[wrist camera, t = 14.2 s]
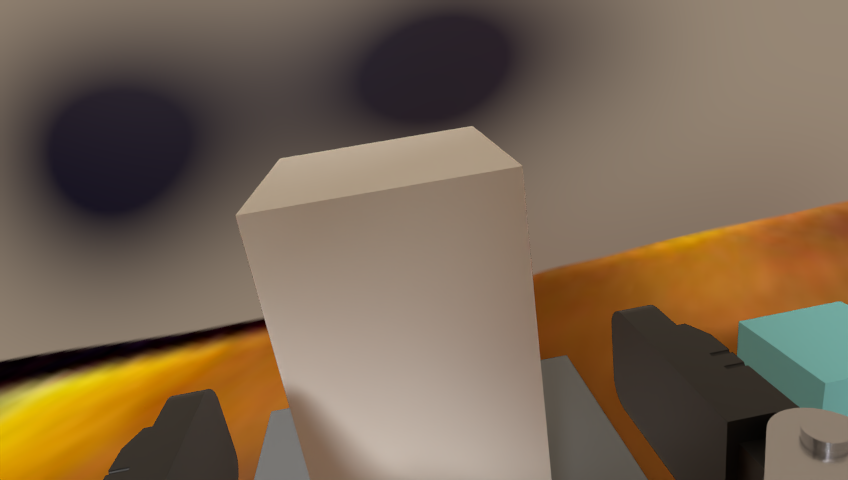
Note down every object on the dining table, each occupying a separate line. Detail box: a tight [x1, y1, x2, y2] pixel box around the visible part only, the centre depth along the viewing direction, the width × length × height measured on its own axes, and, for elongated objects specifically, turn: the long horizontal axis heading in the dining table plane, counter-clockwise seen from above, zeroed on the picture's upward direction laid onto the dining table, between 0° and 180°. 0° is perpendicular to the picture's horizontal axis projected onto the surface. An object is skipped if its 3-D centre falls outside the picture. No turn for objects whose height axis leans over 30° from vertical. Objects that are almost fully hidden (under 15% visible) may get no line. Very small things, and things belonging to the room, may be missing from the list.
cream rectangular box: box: [235, 126, 552, 480], centre depth 17 cm, size 6×6×12 cm
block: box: [737, 301, 848, 417], centre depth 19 cm, size 4×4×4 cm
